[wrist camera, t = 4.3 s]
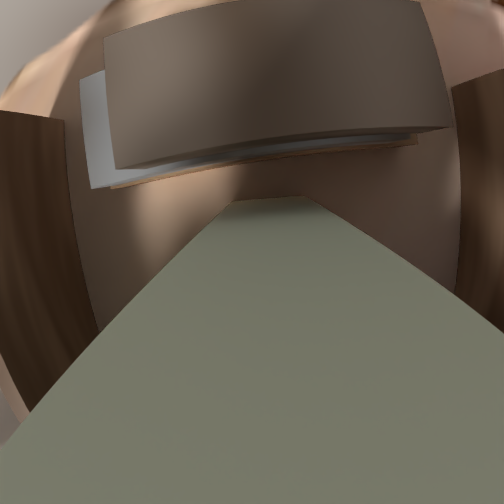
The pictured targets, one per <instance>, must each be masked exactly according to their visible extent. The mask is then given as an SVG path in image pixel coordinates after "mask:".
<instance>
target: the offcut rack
mask: <svg viewBox="0 0 504 504" xmlns="http://www.w3.org/2000/svg"><path fill="white" fill-rule="evenodd" d="M451 88H452V94H453V101H454V107H455V114H456V122H457V131H458V142H459V154H460V172H461V230H460V248H459V261H458V271H457V280H456V288H455V296H456V297H458V298H459V299H460V300H462V301H463V302H464V303H466V304H467V305H468V306H470V307H471V308H472V309H473V310H475V311H476V312H477V313H479V314H480V315H481V316H482V317H484V318H485V319H486V320H487V321H489V322H490V323H491V324H492V325H494V326H495V327H496V328H497V329H499V330H500V331H501V332H502V333H504V69H501V70H498V71H495V72H492V73H489V74H486V75H483V76H481V77H478V78H475V79H472V80H469V81H467V82H464V83H461V84H459V85H456V86H453V87H451ZM98 335H99V332H98V328H97V325H96V322H95V318H94V315H93V311H92V307H91V304H90V300H89V296H88V292H87V288H86V284H85V280H84V275H83V271H82V267H81V262H80V257H79V252H78V247H77V242H76V236H75V230H74V224H73V218H72V211H71V204H70V197H69V188H68V179H67V169H66V157H65V141H64V120H60V119H54V118H48V117H43V116H37V115H30V114H24V113H17V112H10V111H3V110H0V389H1V391H2V392H3V394H4V396H5V398H6V400H7V402H8V404H9V405H10V407H11V409H12V411H13V412H14V414H15V416H16V417H17V419H18V421H19V422H20V424H21V423H22V422H23V421H24V420H25V419H26V417H27V416H28V415H29V414H30V412H31V411H32V410H33V409H34V408H35V406H36V405H37V404H38V403H39V402H40V401H41V399H42V398H43V397H44V396H45V395H46V393H47V392H48V391H49V390H50V389H51V388H52V386H53V385H54V384H55V383H56V382H57V381H58V380H59V378H60V377H61V376H62V375H63V374H64V373H65V372H66V370H67V369H68V368H69V367H70V366H71V365H72V364H73V363H74V361H75V360H76V359H77V358H78V357H79V356H80V355H81V354H82V353H83V351H84V350H85V349H86V348H87V347H88V346H89V345H90V344H91V343H92V342H93V340H94V339H95V338H96V337H97V336H98Z"/></svg>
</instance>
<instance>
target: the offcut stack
mask: <svg viewBox="0 0 504 504" xmlns="http://www.w3.org/2000/svg"><path fill="white" fill-rule="evenodd" d="M103 42H104V67H105V70H102V71H99V72H97V73H94V74H92V75H90V76H87V77H85V78H83V79H80V80H79V85H80V102H81V115H82V126H83V136H84V144H85V152H86V160H87V167H88V173H89V180H90V186H91V189H95V188H102V187H109V186H110V189H117V188H123V187H130V186H134V185H138V184H143V183H147V182H151V181H156V180H160V179H165V178H170V177H174V176H179V175H184V174H189V173H194V172H199V171H204V170H210V169H215V168H221V167H226V166H232V165H238V164H244V163H251V162H257V161H264V160H271V159H278V158H285V157H293V156H301V155H309V154H318V153H327V152H337V151H348V150H360V149H373V148H388V147H402V146H408V145H416V144H418V140H417V134H416V133H423V132H428V131H433V130H438V129H443V128H449V127H453V121H452V115H451V110H450V105H449V100H448V95H447V91H446V86H445V82H444V78H443V74H442V70H441V66H440V62H439V59H438V55H437V52H436V48H435V45H434V42H433V39H432V36H431V33H430V30H429V27H428V24H427V21H426V18H425V16H424V13H423V10H422V8H421V5H420V2H415V1H409V0H240V1H234V2H227V3H222V4H216V5H211V6H206V7H202V8H197V9H193V10H189V11H184V12H180V13H177V14H173V15H169V16H166V17H162V18H159V19H155V20H152V21H149V22H146V23H143V24H140V25H137V26H134V27H131V28H128V29H125V30H123V31H120V32H117V33H115V34H112V35H110V36H107V37H105V38H103Z"/></svg>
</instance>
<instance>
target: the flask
mask: <svg viewBox="0 0 504 504" xmlns="http://www.w3.org/2000/svg"><path fill="white" fill-rule="evenodd" d="M20 425H21V424H20V422H19V421H18V419H17V417H16V416H15V414H14V412H13V411H12V409H11V407H10V405H9V404H8V402H7V400H6V398H5V396H4V394H3V392H2V391H1V389H0V450H1V449H2V447H3V446H4V445H5V443H6V442H7V441H8V440H9V438H10V437H11V436H12V435H13V433H14V432H15V431H16V430H17V428H18V427H19V426H20Z"/></svg>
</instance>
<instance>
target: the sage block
mask: <svg viewBox="0 0 504 504" xmlns="http://www.w3.org/2000/svg"><path fill="white" fill-rule="evenodd" d="M0 504H504V333H502V332H501V331H500V330H499V329H497V328H496V327H495V326H494V325H492V324H491V323H490V322H489V321H487V320H486V319H485V318H484V317H482V316H481V315H480V314H479V313H477V312H476V311H475V310H473V309H472V308H471V307H470V306H468V305H467V304H466V303H464V302H463V301H462V300H460V299H459V298H458V297H456V296H455V295H454V294H452V293H451V292H450V291H448V290H447V289H446V288H444V287H443V286H441V285H440V284H439V283H437V282H436V281H435V280H433V279H432V278H430V277H429V276H428V275H426V274H425V273H423V272H422V271H421V270H419V269H418V268H416V267H415V266H413V265H412V264H410V263H409V262H408V261H406V260H405V259H403V258H402V257H400V256H399V255H397V254H396V253H394V252H393V251H391V250H390V249H388V248H387V247H385V246H384V245H382V244H381V243H379V242H378V241H376V240H375V239H373V238H372V237H370V236H369V235H367V234H365V233H364V232H362V231H361V230H359V229H358V228H356V227H354V226H353V225H351V224H350V223H348V222H347V221H345V220H343V219H342V218H340V217H339V216H337V215H335V214H334V213H332V212H330V211H329V210H327V209H325V208H324V207H322V206H320V205H319V204H317V203H315V202H314V201H312V200H310V199H309V198H307V197H305V196H292V197H278V198H266V199H254V200H243V201H232V202H231V203H230V204H229V205H228V206H227V207H226V208H225V209H223V210H222V211H221V212H220V213H219V214H218V215H217V216H216V217H215V218H214V219H213V220H212V221H211V222H210V223H209V224H208V225H207V226H205V227H204V228H203V229H202V230H201V231H200V232H199V233H198V234H197V235H196V236H195V237H194V238H193V239H192V240H191V241H190V242H189V243H188V244H187V245H186V246H185V247H184V248H183V249H182V250H181V251H180V252H179V253H178V254H177V255H176V256H175V257H174V258H173V259H172V260H171V261H170V262H169V263H168V264H167V265H166V266H165V267H164V268H163V269H162V270H161V271H160V272H159V273H158V274H157V275H156V276H155V277H154V278H153V279H152V280H151V281H150V282H149V283H148V284H147V285H146V286H145V287H144V288H143V289H142V290H141V291H140V292H139V293H138V294H137V295H136V296H135V297H134V298H133V299H132V300H131V301H130V302H129V303H128V304H127V305H126V306H125V307H124V308H123V310H122V311H121V312H120V313H119V314H118V315H117V316H116V317H115V318H114V319H113V320H112V321H111V322H110V323H109V324H108V325H107V326H106V328H105V329H104V330H103V331H102V332H101V333H100V334H99V335H98V336H97V337H96V338H95V339H94V340H93V342H92V343H91V344H90V345H89V346H88V347H87V348H86V349H85V350H84V351H83V353H82V354H81V355H80V356H79V357H78V358H77V359H76V360H75V361H74V363H73V364H72V365H71V366H70V367H69V368H68V369H67V370H66V372H65V373H64V374H63V375H62V376H61V377H60V378H59V380H58V381H57V382H56V383H55V384H54V385H53V386H52V388H51V389H50V390H49V391H48V392H47V393H46V395H45V396H44V397H43V398H42V399H41V401H40V402H39V403H38V404H37V405H36V406H35V408H34V409H33V410H32V411H31V412H30V414H29V415H28V416H27V417H26V419H25V420H24V421H23V422H22V423H21V425H20V426H19V427H18V428H17V430H16V431H15V432H14V433H13V435H12V436H11V437H10V438H9V440H8V441H7V442H6V443H5V445H4V446H3V447H2V449H1V450H0Z"/></svg>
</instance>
